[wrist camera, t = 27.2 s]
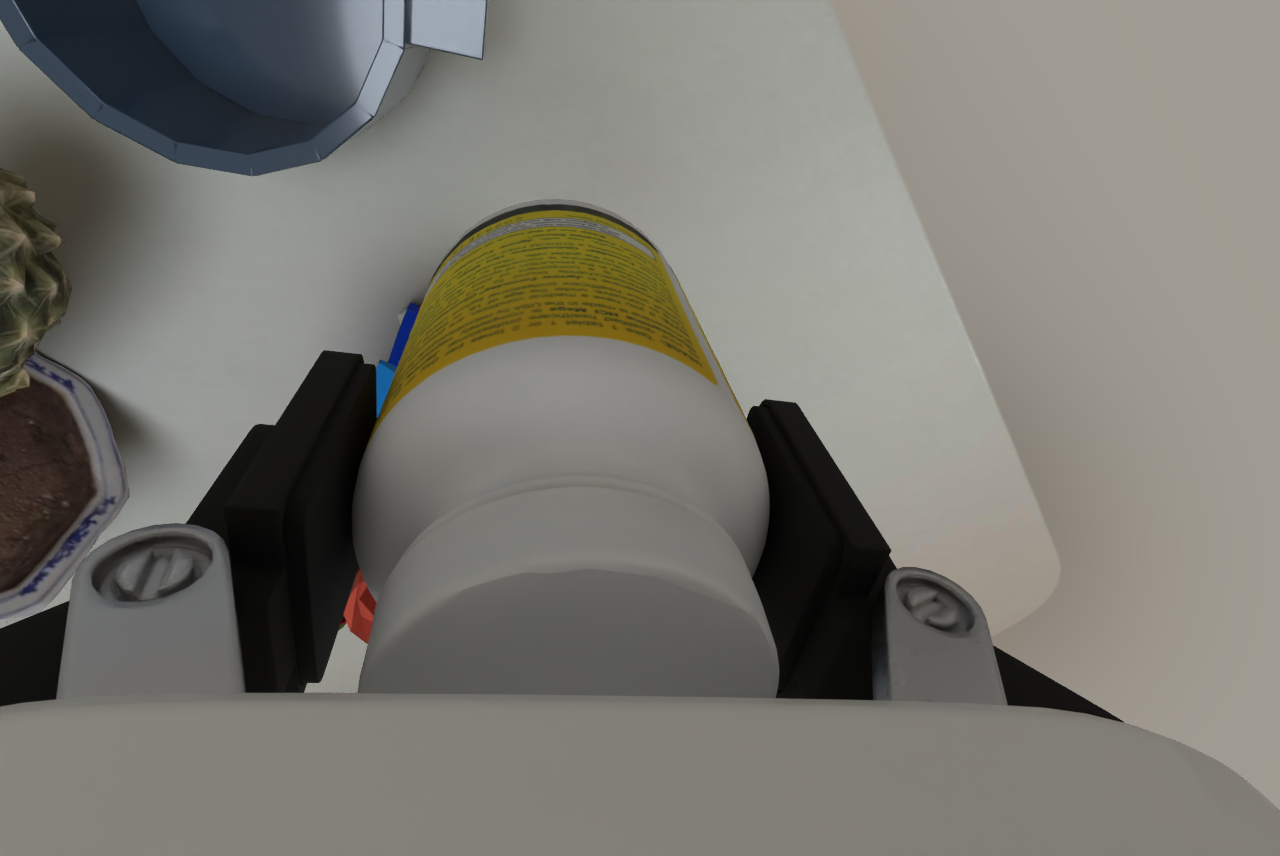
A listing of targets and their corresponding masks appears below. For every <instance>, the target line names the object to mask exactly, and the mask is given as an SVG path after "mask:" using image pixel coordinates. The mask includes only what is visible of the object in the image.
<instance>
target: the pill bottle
mask: <svg viewBox="0 0 1280 856" xmlns="http://www.w3.org/2000/svg"><path fill="white" fill-rule="evenodd" d="M769 517H770V497H769V487H768V481H767V475H766V471H765V467H764V464H763V461H762V457H761V454H760V452H759V449H758V446H757V443H756V440H755V438H754V435H753V432H752V430H751V428H750V426H749V424H748V422H747V420H746V418H745V416H744V414H743V411H742V409H741V407H740V405H739V403H738V401H737V399H736V397H735V395H734V393H733V391H732V389H731V387H730V385H729V383H728V381H727V379H726V377H725V375H724V373H723V370H722V368H721V366H720V364H719V362H718V360H717V359H716V357H715V355H714V353H713V351H712V349H711V347H710V345H709V343H708V340H707V338H706V336H705V334H704V332H703V330H702V328H701V326H700V324H699V322H698V320H697V318H696V316H695V314H694V312H693V310H692V308H691V306H690V304H689V302H688V300H687V298H686V296H685V294H684V292H683V290H682V288H681V286H680V283H679V281H678V279H677V277H676V276H675V274H674V272H673V270H672V269H671V267H670V266H669V264H668V262H667V261H666V259H665V258H664V256H663V255H662V253H661V252H660V250H659V249H658V248H657V247H656V246H655V244H654V243H653V242H652V241H651V240H650V239H649V238H648V237H647V236H646V235H645V234H644V233H643V232H642V231H640V230H639V229H638V228H637V227H635V226H634V225H633V224H631V223H630V222H628V221H627V220H625V219H623V218H622V217H620V216H618V215H616V214H615V213H613V212H611V211H609V210H606V209H603V208H601V207H598V206H595V205H592V204H588V203H584V202H578V201H573V200H561V199H546V200H536V201H530V202H524V203H520V204H517V205H513V206H510V207H507V208H505V209H502V210H500V211H498V212H495V213H493V214H491V215H490V216H488V217H486V218H484V219H482V220H481V221H479V222H478V223H476V224H475V225H474V226H472V227H471V228H470V229H468V230H467V231H466V232H465V233H464V234H463V235H462V236H461V237H460V238H459V239H458V240H457V241H456V242H455V243H454V244H453V246H452V247H451V248H450V249H449V251H448V252H447V253H446V255H445V256H444V258H443V260H442V261H441V263H440V265H439V267H438V268H437V270H436V272H435V273H434V275H433V277H432V280H431V282H430V285H429V287H428V290H427V292H426V295H425V297H424V300H423V302H422V304H421V307H420V310H419V312H418V315H417V318H416V321H415V323H414V326H413V328H412V330H411V332H410V335H409V338H408V341H407V344H406V346H405V349H404V351H403V354H402V356H401V359H400V361H399V364H398V366H397V369H396V372H395V374H394V377H393V380H392V382H391V385H390V387H389V390H388V393H387V395H386V398H385V400H384V403H383V405H382V408H381V410H380V413H379V415H378V418H377V421H376V423H375V426H374V428H373V431H372V433H371V436H370V439H369V441H368V444H367V447H366V449H365V452H364V455H363V458H362V460H361V463H360V466H359V470H358V475H357V480H356V485H355V489H354V493H353V501H352V536H353V545H354V550H355V554H356V559H357V562H358V565H359V567H360V570H361V573H362V576H363V578H364V581H365V583H366V585H367V587H368V589H369V591H370V593H371V595H372V596H373V598H374V599H375V601H376V602H377V604H376V607H375V611H374V616H373V622H372V629H371V634H370V638H369V642H368V646H367V650H366V655H365V659H364V663H363V667H362V671H361V674H360V680H359V688H358V693H403V694H519V695H595V696H666V697H732V698H776V694H777V689H778V682H779V663H778V655H777V648H776V645H775V642H774V639H773V636H772V633H771V630H770V627H769V624H768V621H767V618H766V615H765V612H764V608H763V605H762V603H761V600H760V598H759V595H758V593H757V590H756V588H755V585H754V583H753V580H752V577H753V575H754V573H755V571H756V569H757V567H758V564H759V561H760V558H761V556H762V553H763V550H764V547H765V544H766V538H767V533H768V526H769Z"/></svg>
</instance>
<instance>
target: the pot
mask: <svg viewBox="0 0 1280 856" xmlns="http://www.w3.org/2000/svg"><path fill="white" fill-rule="evenodd" d="M488 9H489V0H0V20H1V21H2V23H3V25H4V26H5V28H6V30H7V31H8V33H9V34H10V36H11V38H12V39H13V41H14V43H15V44H16V46H17V47H18V48H19V50H20V51H21V52H22V53H23V54H24V55H25V56H27V57H28V58H29V59H30V60H31V61H32V62H33V63H34V64H35V65H36V66H37V67H38V68H39V69H40V70H41V71H42V72H43V73H44V74H46V75H47V76H48V77H49V78H50V79H51V80H52V81H53V82H54V83H55V84H56V85H57V86H58V87H59V88H60V89H61V90H62V91H64V92H65V93H66V94H67V95H68V96H69V97H70V98H71V99H72V100H73V101H74V102H75V103H76V104H77V105H78V106H79V107H80V108H81V109H83V110H84V111H85V112H86V113H87V114H88V115H89V116H90V117H91V118H92V119H95V120H96V121H97V122H99V123H101V124H103V125H105V126H107V127H109V128H111V129H112V130H114V131H116V132H118V133H120V134H122V135H124V136H126V137H128V138H129V139H131V140H133V141H135V142H137V143H139V144H141V145H143V146H145V147H147V148H148V149H150V150H152V151H154V152H156V153H158V154H160V155H162V156H164V157H165V158H167V159H169V160H171V161H173V162H175V163H178V164H183V165H189V166H195V167H201V168H207V169H213V170H219V171H224V172H230V173H236V174H242V175H248V176H258V175H262V174H267V173H271V172H276V171H280V170H284V169H289V168H293V167H298V166H302V165H306V164H311V163H315V162H320V161H322V160H323V159H326V158H327V157H328V156H330V155H331V154H333V153H334V152H336V151H337V150H339V149H340V148H342V147H343V146H344V145H346V144H347V143H349V142H350V141H352V140H353V139H355V138H356V137H358V136H359V135H360V134H362V133H363V132H365V131H366V130H368V129H369V128H370V127H371V126H373V125H374V124H375V123H376V122H378V121H379V120H380V119H381V118H382V117H384V116H385V115H386V114H387V113H389V112H390V111H391V110H392V109H393V108H395V107H396V106H397V105H398V104H400V103H401V102H402V101H403V100H404V99H406V98H407V97H408V95H410V93H411V91H412V88H413V86H414V84H415V82H416V80H417V78H418V76H419V75H420V73H421V71H422V69H423V67H424V64H425V62H426V59H427V56H428V54H429V52H430V49H433V50H438V51H443V52H447V53H452V54H456V55H461V56H465V57H470V58H475V59H479V60H483V59H484V58H485V49H486V36H487V22H488Z"/></svg>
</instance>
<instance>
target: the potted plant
mask: <svg viewBox="0 0 1280 856" xmlns="http://www.w3.org/2000/svg"><path fill="white" fill-rule="evenodd" d="M35 202H36V200H35V193H34V191H31V190H28V188H27V181H26V180H25V179H24V178H23V177H22V176H21V175H19V174H16V173H13V172H10V171H7V170H4V169H1V168H0V624H1V623H5V622H8V621H12V620H15V619H19V618H23V617H26V616H30V615H34V614H37V613H39V612H41V611H42V610H43V609H44V608H45V607H46V606H47V605H48V604H49V603H50V602H51V601H52V600H53V599H54V598H55V597H56V596H57V595H58V593H59V592H60V591H61V590H62V588H63V587H64V586H65V585H66V583H67V582H68V581H69V579H70V578H71V577H72V575H73V574H74V573H75V571H76V570H77V567H78V565H79V564H80V563H81V562H82V561H83V560H84V559H85V557H86V556H87V554H88V553H89V551H90V550H91V548H92V547H93V545H94V543H95V542H96V540H97V538H98V537H99V535H100V534H101V533H102V532H103V531H104V530H105V529H106V528H107V527H108V525H109V524H110V523H111V522H112V521H113V520H114V519H115V518H116V516H117V515H118V513H119V512H120V510H121V509H122V507H123V505H124V504H125V502H126V501H127V499H128V498H129V487H128V482H127V475H126V468H125V465H124V462H123V459H122V457H121V454H120V452H119V450H118V448H117V445H116V443H115V439H114V435H113V432H112V428H111V425H110V423H109V420H108V418H107V416H106V413H105V411H104V409H103V407H102V405H101V403H100V401H99V400H98V398H97V397H96V395H95V393H94V392H93V390H92V388H91V387H90V385H89V384H87V383H86V382H85V381H84V380H83V379H82V378H81V377H79V376H78V375H76V374H74V373H73V372H71V371H69V370H68V369H66V368H64V367H63V366H60V365H58V364H56V363H54V362H52V361H50V360H48V359H46V358H44V357H42V356H40V355H39V354H38V353H37V352H35V349H36V348H37V346H38V344H39V342H40V341H41V339H42V337H43V335H44V334H45V332H47V331H48V330H50V329H51V328H53V327H54V326H56V325H58V324H59V323H61V321H60V319H59V318H61V317H62V316H64V315H65V312H66V309H67V305H68V300H69V297H70V293H71V290H72V288H71V286H70V283H69V281H68V279H67V278H66V277H65V272H64V269H63V267H62V266H61V265H60V263H59V262H58V261H57V259H56V258H55V256H54V255H53V254H52V252H51V251H52V250H54V249H56V248H57V247H59V245H60V244H61V243H65V242H64V241H63V240H62V239H61V238H60V237H59V236H58V235H57V234H55V233H54V232H53V231H54V230H55V228H56V227H57V226H58V225H56V224H54V223H52V222H51V221H49V220H47V219H45V218H43V217H41V216H39V215H38V214H37V213H36V212H35V211H34V209H33V208H32V206H33V205H34V203H35Z"/></svg>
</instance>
